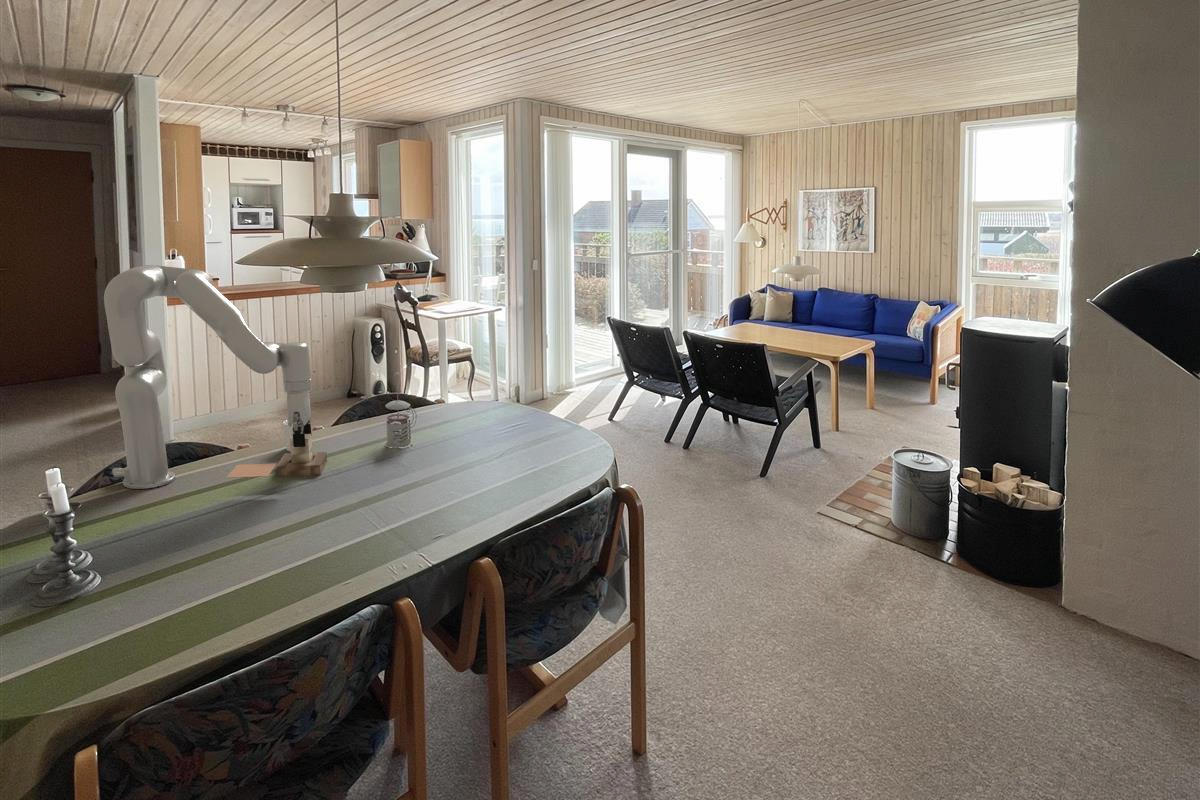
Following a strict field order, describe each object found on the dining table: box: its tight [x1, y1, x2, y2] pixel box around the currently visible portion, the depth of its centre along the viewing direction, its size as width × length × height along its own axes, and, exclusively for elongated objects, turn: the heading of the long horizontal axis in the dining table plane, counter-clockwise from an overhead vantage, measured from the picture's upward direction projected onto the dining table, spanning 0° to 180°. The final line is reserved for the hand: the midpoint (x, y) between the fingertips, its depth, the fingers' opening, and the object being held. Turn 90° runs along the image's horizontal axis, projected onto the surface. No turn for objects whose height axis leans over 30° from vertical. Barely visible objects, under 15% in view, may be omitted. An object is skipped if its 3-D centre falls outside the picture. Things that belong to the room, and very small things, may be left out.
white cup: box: [282, 419, 310, 452], centre depth 232 cm, size 8×8×10 cm
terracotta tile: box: [226, 462, 277, 479], centre depth 213 cm, size 11×11×1 cm
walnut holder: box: [275, 451, 328, 477], centre depth 215 cm, size 12×12×4 cm
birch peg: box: [290, 433, 313, 463], centre depth 214 cm, size 5×5×10 cm
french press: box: [384, 371, 418, 448], centre depth 242 cm, size 10×12×25 cm
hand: (302, 441), depth 213 cm, fingers open, 9 cm apart
